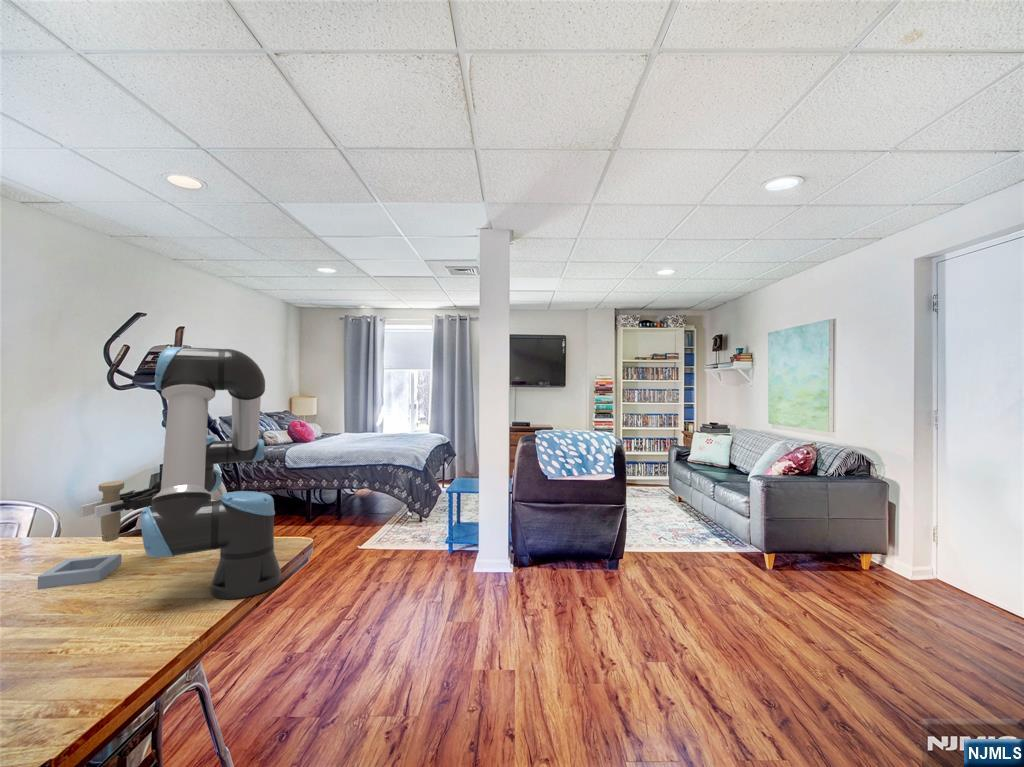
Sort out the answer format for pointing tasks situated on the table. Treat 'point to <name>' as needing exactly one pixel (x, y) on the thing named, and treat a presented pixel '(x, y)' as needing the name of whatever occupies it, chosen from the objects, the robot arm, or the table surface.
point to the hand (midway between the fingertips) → (88, 511)
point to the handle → (112, 521)
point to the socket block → (79, 571)
